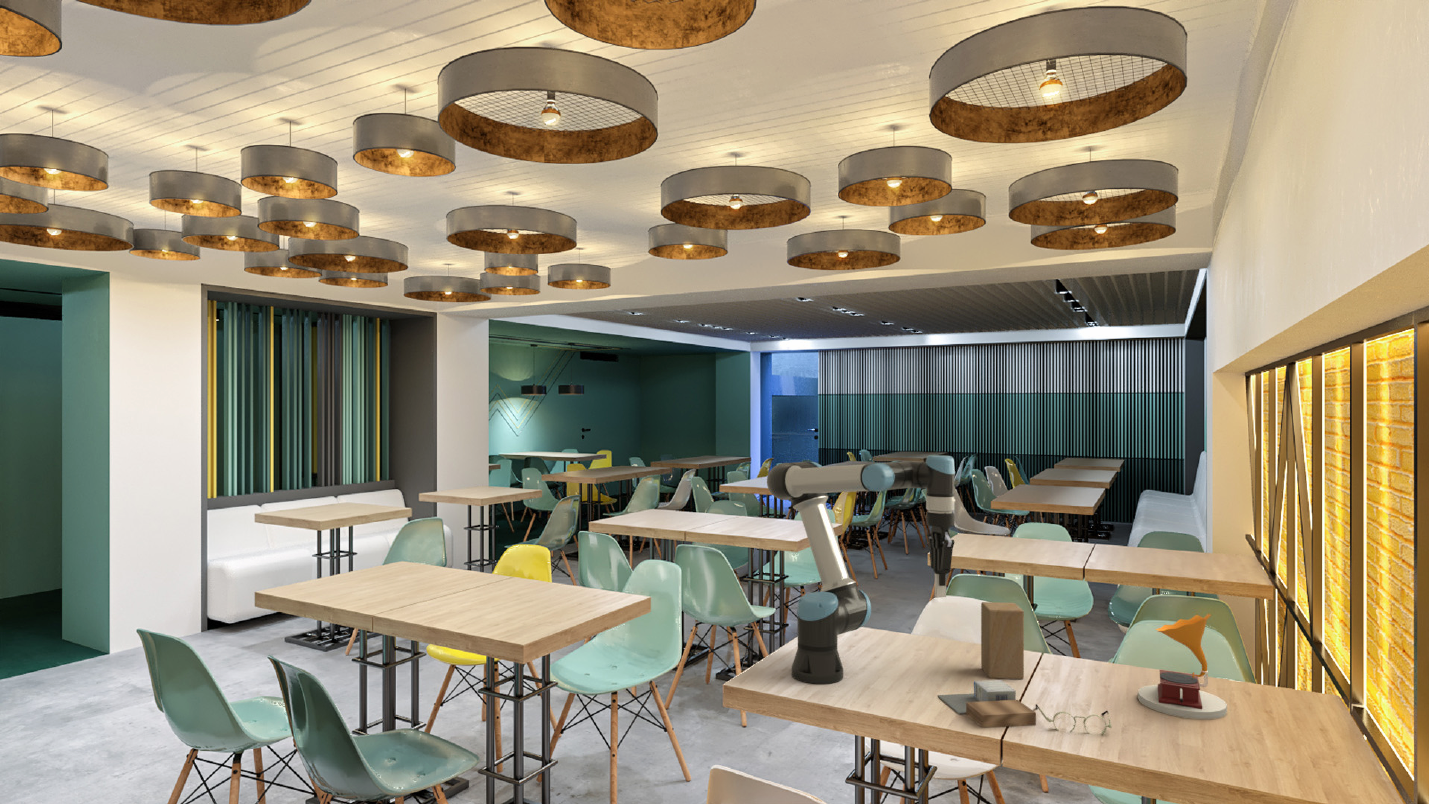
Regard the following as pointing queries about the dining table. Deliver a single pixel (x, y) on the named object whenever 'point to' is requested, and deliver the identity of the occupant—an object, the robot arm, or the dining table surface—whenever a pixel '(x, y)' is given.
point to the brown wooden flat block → (1000, 713)
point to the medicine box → (993, 691)
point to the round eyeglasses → (1075, 720)
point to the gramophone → (1184, 679)
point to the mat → (958, 701)
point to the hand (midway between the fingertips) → (940, 596)
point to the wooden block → (1002, 640)
